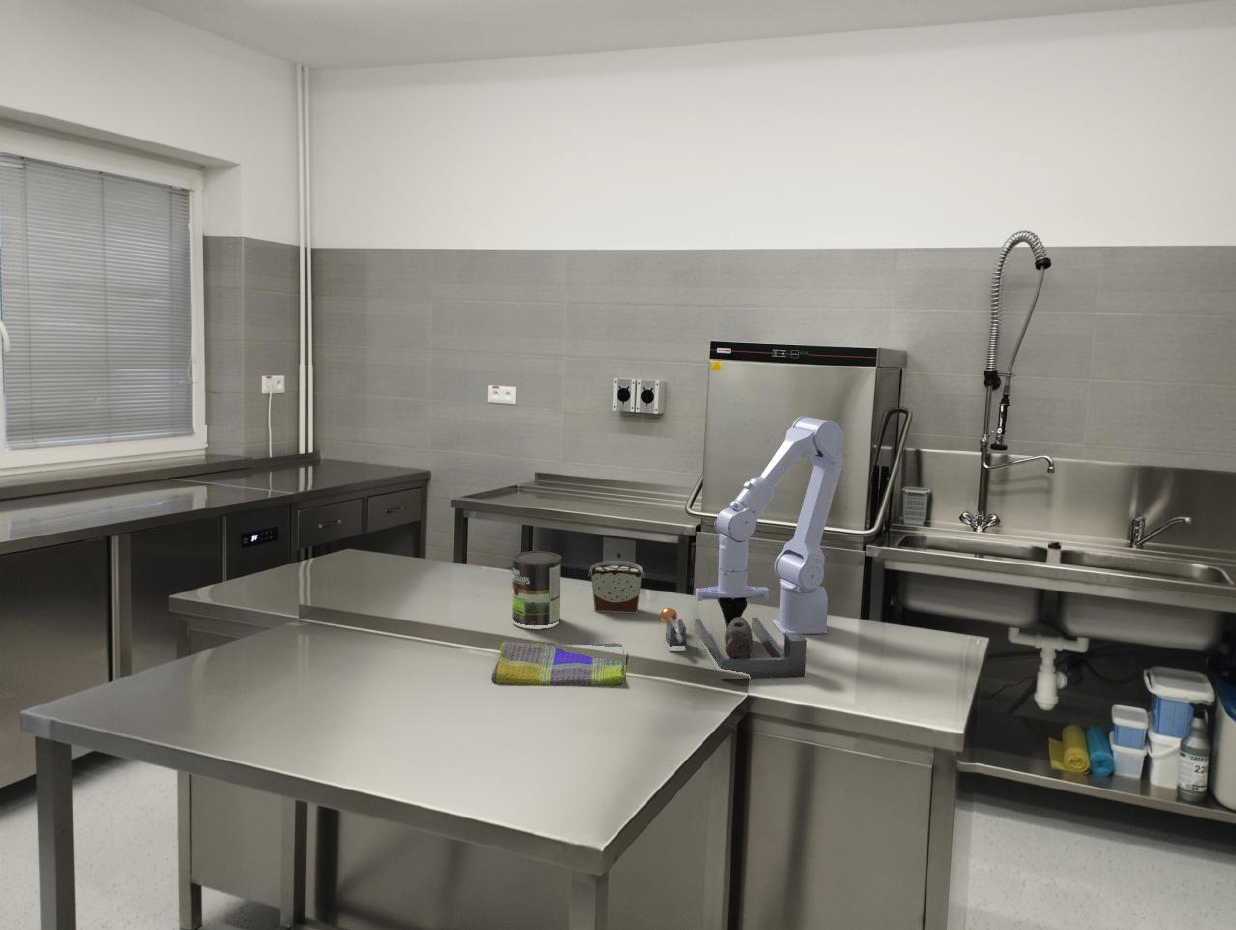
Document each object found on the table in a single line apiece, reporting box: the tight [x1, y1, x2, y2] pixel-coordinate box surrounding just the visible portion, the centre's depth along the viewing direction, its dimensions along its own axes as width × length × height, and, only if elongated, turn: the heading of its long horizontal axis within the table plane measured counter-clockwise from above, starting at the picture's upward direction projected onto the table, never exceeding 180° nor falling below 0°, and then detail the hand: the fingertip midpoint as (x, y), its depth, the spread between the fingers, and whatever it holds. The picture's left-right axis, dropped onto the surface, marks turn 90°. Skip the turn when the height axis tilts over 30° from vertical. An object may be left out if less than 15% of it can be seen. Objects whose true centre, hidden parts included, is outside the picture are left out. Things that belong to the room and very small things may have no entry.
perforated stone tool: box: [724, 616, 754, 659], centre depth 182 cm, size 15×5×7 cm, turn 173°
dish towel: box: [491, 641, 627, 686], centre depth 175 cm, size 18×24×3 cm
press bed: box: [665, 617, 808, 680], centre depth 183 cm, size 23×26×7 cm
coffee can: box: [511, 550, 562, 626], centre depth 199 cm, size 10×10×14 cm
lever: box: [660, 607, 683, 643], centre depth 188 cm, size 3×16×3 cm, turn 6°
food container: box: [587, 560, 646, 614], centre depth 209 cm, size 12×6×10 cm, turn 84°
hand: (731, 633), depth 191 cm, fingers closed
